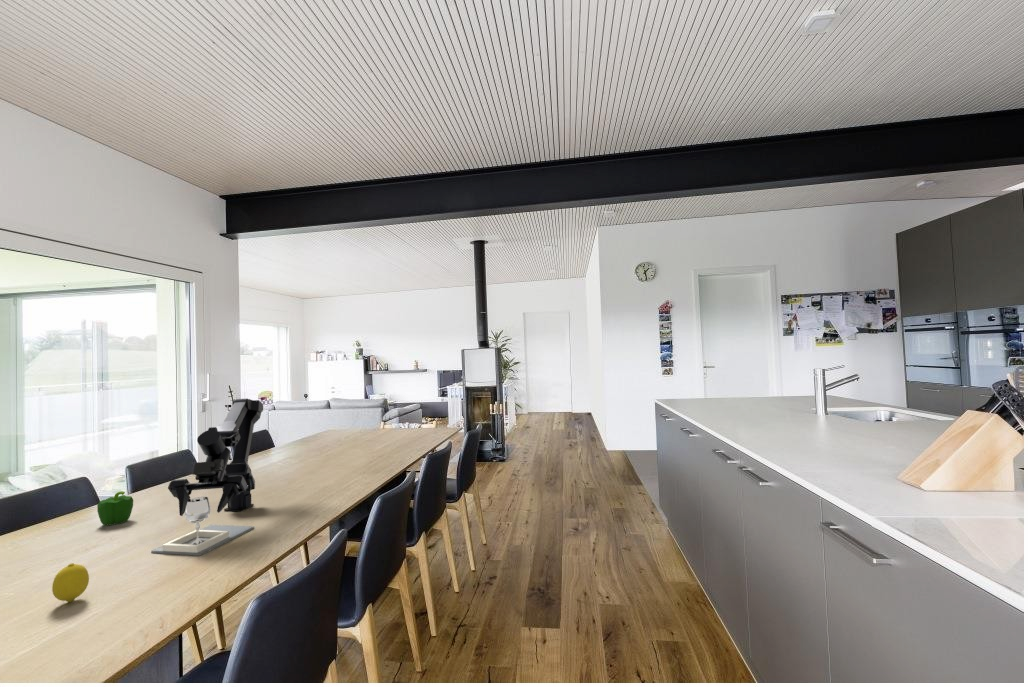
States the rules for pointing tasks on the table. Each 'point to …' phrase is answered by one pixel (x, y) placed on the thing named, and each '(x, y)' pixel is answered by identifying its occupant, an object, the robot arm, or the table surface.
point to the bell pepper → (115, 509)
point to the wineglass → (197, 514)
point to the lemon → (70, 582)
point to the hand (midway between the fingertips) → (199, 513)
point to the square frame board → (211, 534)
